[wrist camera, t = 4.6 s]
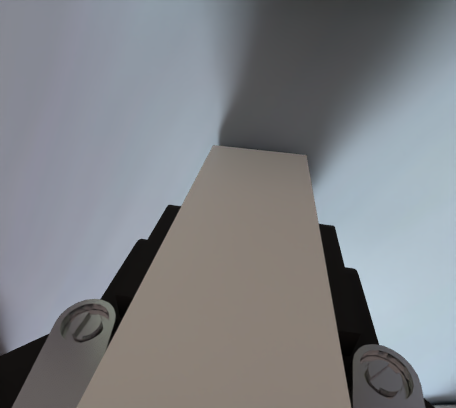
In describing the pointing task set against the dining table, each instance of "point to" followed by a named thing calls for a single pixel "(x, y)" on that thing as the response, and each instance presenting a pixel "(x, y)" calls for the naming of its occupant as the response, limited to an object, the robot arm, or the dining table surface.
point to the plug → (232, 299)
